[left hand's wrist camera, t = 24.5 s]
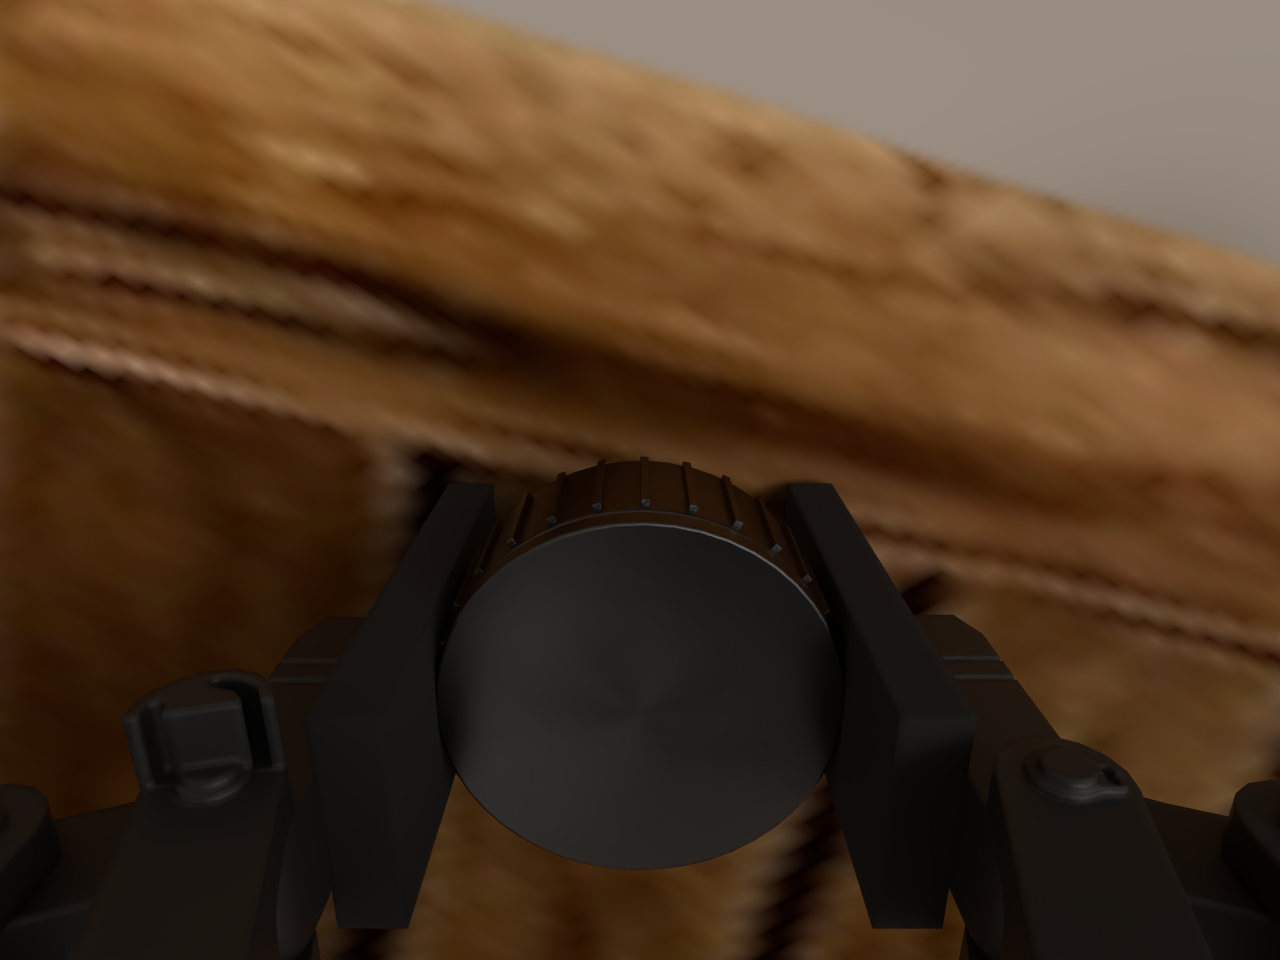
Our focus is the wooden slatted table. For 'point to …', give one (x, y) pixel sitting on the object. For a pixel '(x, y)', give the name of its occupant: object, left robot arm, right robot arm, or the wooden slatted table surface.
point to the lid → (640, 669)
